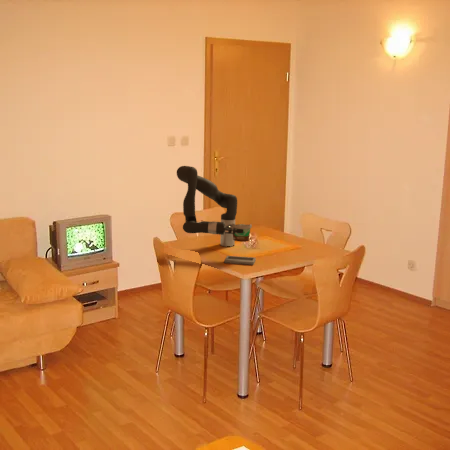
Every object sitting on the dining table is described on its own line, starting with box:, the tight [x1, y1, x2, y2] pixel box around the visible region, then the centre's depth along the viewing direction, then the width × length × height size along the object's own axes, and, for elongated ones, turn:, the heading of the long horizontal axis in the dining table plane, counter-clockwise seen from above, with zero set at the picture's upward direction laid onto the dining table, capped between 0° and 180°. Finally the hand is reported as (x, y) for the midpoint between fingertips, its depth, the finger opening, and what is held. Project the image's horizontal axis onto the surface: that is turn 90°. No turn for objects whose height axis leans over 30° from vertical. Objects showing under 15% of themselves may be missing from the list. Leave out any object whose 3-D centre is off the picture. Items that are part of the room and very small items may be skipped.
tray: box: [223, 255, 257, 266], centre depth 359 cm, size 10×17×2 cm, turn 80°
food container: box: [231, 223, 253, 243], centre depth 362 cm, size 12×6×10 cm, turn 99°
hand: (244, 230), depth 362 cm, fingers closed on food container, 7 cm apart
